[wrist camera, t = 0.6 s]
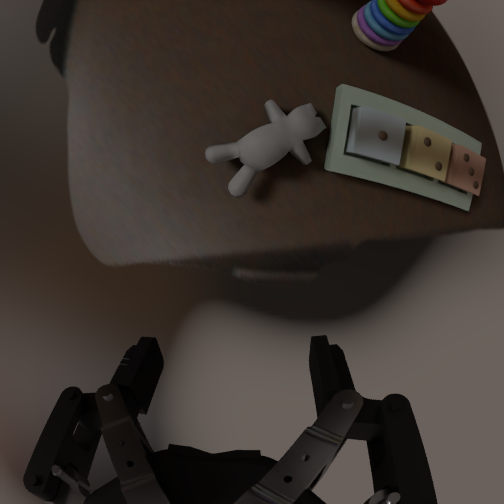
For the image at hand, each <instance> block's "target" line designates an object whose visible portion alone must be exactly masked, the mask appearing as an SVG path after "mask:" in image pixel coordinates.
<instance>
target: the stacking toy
mask: <svg viewBox="0 0 504 504" xmlns="http://www.w3.org/2000/svg"><path fill="white" fill-rule="evenodd" d="M446 1H447V0H372V1H370V2H368V3H367V4H366V5H364V6H362V7H361V8H360V9H359V10H358V11H357V12H356V13H355V14H354V15H353V17H352V27H353V30H354V32H355V34H356V36H357V37H358V38H359V39H360V40H361V41H362V42H363V43H364V44H365V45H367V46H369V47H370V48H372V49H375V50H378V51H391V50H394V49H395V48H397V47H398V46H399V44H400V43H401V42H402V41H403V40H404V39H405V38H406V37H408V35H409V34H410V33H411V32H412V31H413V30H414V29H415V26H416V25H418V24H419V22H420V20H422V19H423V18H424V17H425V14H428V13H430V12H431V10H432V8H433V6H435V5H436V6H437V5H441V4H443V3H445V2H446Z"/></svg>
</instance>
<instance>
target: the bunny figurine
mask: <svg viewBox="0 0 504 504" xmlns="http://www.w3.org/2000/svg"><path fill="white" fill-rule="evenodd" d="M264 106H265V109H266V112H267V115H268V119H269V122H270V124H267V125H264V126H262V127H259V128H257V129H255V130H253V131H251V132H250V133H249V134H247V135H246V136H244V137H243V138H241V139H240V140H239V141H237V142H235V143H223V144H214V145H210V146H208V147H207V148H206V150H205V156H206V158H207V160H208V161H209V162H211V163H213V164H218V163H221V162H225V161H228V160H231V159H234V158H238V157H239V158H240V161H241V162H242V163H243V164H244V165H243V167H242V168H241V169H240V170H239V171H238V173H237V174H236V175H235V176H234V177H233V179H232V180H231V181H230V183H229V186H228V188H229V191H230V193H231V194H232V195H233V196H235V197H237V198H239V197H243V196H244V195H245V194H246V192H247V191H248V189H249V187H250V185H251V183H252V181H253V179H254V177H255V176H256V174H257V173H258V172H260V171H262V170H264V169H266V168H268V167H270V166H272V165H274V164H275V163H276V162H278V161H279V160H280V159H282V158H283V157H284V156H285V155H286V154H287V153H288V152H290V153H291V154H292V155H293V156H294V157H296V158H297V159H298V160H299V161H300V162H301V163H302V164H306V165H308V164H309V163H310V162H311V161H312V160H311V158H310V155H309V153H308V151H307V149H306V147H305V145H304V143H303V140H307V139H310V138H313V137H316V136H317V135H318V134H319V133H320V132H321V131H322V130H323V129H325V128H326V126H325V125H324V123H323V121H322V120H321V118H320V117H315V116H316V114H317V112H316V110H315V109H314V107H313V106H312V104H311V103H309V104H306V105H303V106H300V107H297V108H296V109H294V110H293V111H292V112H291V113H289V114H288V115H287V116H286V115H285V114H284V112H283V111H282V110H281V109H280V108H279V107H278V106H277V105H276V103H275V102H274V101H273V100H269V101H267V102H266V103H265V105H264Z"/></svg>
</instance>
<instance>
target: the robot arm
mask: <svg viewBox="0 0 504 504" xmlns="http://www.w3.org/2000/svg"><path fill="white" fill-rule="evenodd" d="M163 366H164V360H163V356H162V353H161V351H160V348H159V345H158V342H157V339H156V338H155V337H141V338H140V340H139V342H138V343H137V345H133V346H132V347H131V348H129V349H128V350H127V351H126V353H125V355H124V357H123V359H122V361H121V362H120V365H119V366H118V368H117V370H116V372H115V374H114V376H113V378H112V380H111V382H110V384H106V385H103V386H101V387H100V388H99V389H98V390H97V391H96V393H82V391H81V390H80V389H79V388H78V387H68V388H66V389H65V390H64V391H63V392H62V393H61V395H60V397H59V399H58V401H57V403H56V405H55V407H54V409H53V411H52V413H51V415H50V417H49V419H48V421H47V423H46V425H45V427H44V429H43V431H42V434H41V436H40V438H39V440H38V443H37V445H36V447H35V449H34V452H33V454H32V457H31V459H30V462H29V464H28V466H27V469H26V472H25V474H24V478H23V481H24V485H25V487H26V489H27V490H28V491H29V492H31V493H32V494H34V495H35V496H37V497H39V498H40V499H41V500H43V501H44V502H46V503H48V504H326V503H325V502H324V501H322V500H321V499H320V498H319V497H318V496H317V495H316V494H314V493H313V492H312V490H313V488H314V487H315V486H316V485H317V483H318V482H319V481H320V479H321V478H322V477H323V475H324V474H325V472H326V471H327V469H328V468H329V466H330V465H331V463H332V462H333V460H334V459H335V457H336V456H337V454H338V453H339V451H340V450H341V448H342V447H343V445H344V443H345V442H346V440H347V439H356V440H366V441H367V447H368V453H369V459H370V465H371V472H372V479H373V487H374V495H373V496H371V497H370V498H369V499H368V500H366V502H365V503H364V504H437V499H436V494H435V489H434V485H433V481H432V476H431V472H430V468H429V464H428V461H427V457H426V453H425V450H424V446H423V443H422V439H421V436H420V433H419V430H418V426H417V423H416V420H415V417H414V414H413V411H412V408H411V405H410V402H409V400H408V399H407V398H406V397H405V396H403V395H400V394H390V395H388V396H386V397H385V398H384V399H383V400H372V399H367V398H364V397H362V396H361V395H360V394H359V393H358V392H357V391H356V390H355V388H354V384H353V381H352V378H351V374H350V371H349V368H348V366H347V362H346V360H345V355H344V353H343V350H342V349H341V348H340V347H339V346H338V345H337V344H335V345H329V343H328V339H327V336H326V335H323V336H312V337H311V343H310V354H309V368H310V374H311V380H312V386H313V392H314V398H315V404H316V411H317V420H316V421H315V422H314V424H313V425H312V426H311V427H307V428H306V430H304V432H303V433H302V434H301V435H300V437H299V438H298V439H297V440H296V441H295V443H294V444H293V445H292V446H291V447H290V449H289V450H288V451H287V452H286V453H285V454H284V456H283V457H282V458H281V459H280V460H279V461H276V460H274V459H272V458H269V457H266V456H261V453H260V450H234V451H228V452H222V453H216V454H211V453H208V452H205V451H202V450H199V449H196V448H193V447H189V446H181V445H173V444H169V447H168V449H166V450H161V451H157V452H154V450H153V449H152V447H151V445H150V444H149V441H148V439H147V437H146V435H145V433H144V431H143V429H142V427H141V425H140V423H139V420H138V419H137V417H138V414H139V413H141V414H147V411H148V408H149V406H150V403H151V400H152V397H153V394H154V392H155V389H156V386H157V383H158V380H159V378H160V375H161V373H162V370H163ZM77 423H78V426H77V428H76V425H77ZM75 428H76V431H75V433H74V430H75ZM73 433H74V436H73ZM101 435H103V439H104V441H105V444H106V447H107V450H108V453H109V456H110V458H111V461H112V464H113V466H114V469H115V471H116V474H117V477H116V478H114V479H113V480H111V481H110V482H108V483H107V484H105V485H103V486H102V487H100V488H99V489H97V490H95V491H94V492H92V490H91V489H90V483H89V481H88V479H87V478H88V475H89V471H90V468H91V465H92V461H93V459H94V455H95V452H96V449H97V446H98V443H99V440H100V437H101Z"/></svg>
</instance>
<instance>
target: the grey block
mask: <svg viewBox="0 0 504 504" xmlns="http://www.w3.org/2000/svg"><path fill="white" fill-rule="evenodd" d="M405 127H406V120H404V119H402V118H399V117H397V116H394V115H391V114H388V113H385V112H383V111H380V110H377V109H374V108H370V107H367V106H364V105H363V106H360V107H357V108H354V109H353V112H352V119H351V126H350V132H349V138H348V144H347V150H346V152H350V153H354V154H358V155H361V156H365V157H369V158H372V159H376V160H379V161H383V162H386V163H391V164H395V165H399V163H400V158H401V152H402V146H403V140H404V134H405Z"/></svg>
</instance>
